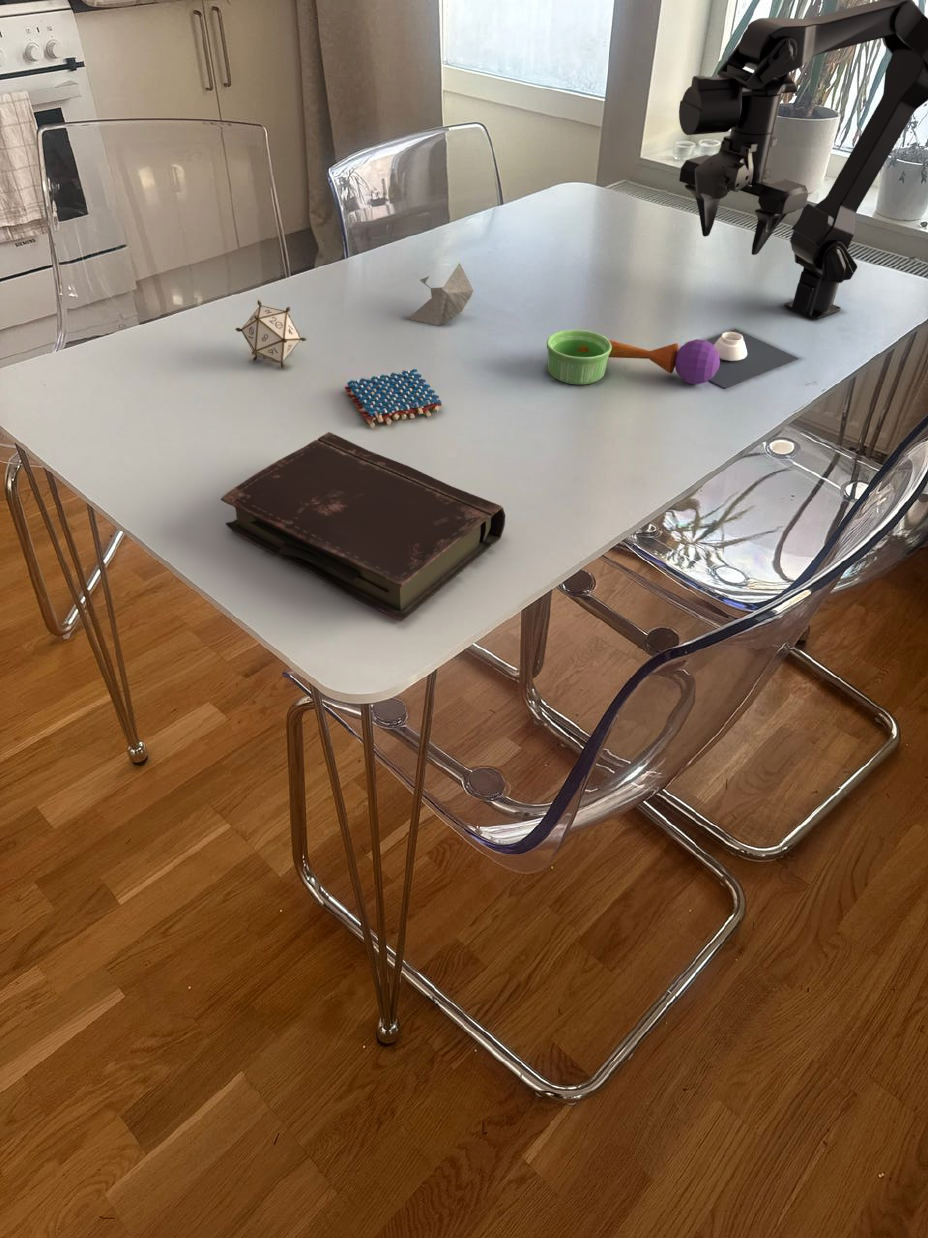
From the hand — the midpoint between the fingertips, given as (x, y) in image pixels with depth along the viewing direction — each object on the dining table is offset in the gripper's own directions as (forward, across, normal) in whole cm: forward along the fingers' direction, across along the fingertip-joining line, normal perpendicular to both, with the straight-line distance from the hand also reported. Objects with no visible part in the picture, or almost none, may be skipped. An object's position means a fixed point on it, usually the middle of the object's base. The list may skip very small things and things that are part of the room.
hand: (729, 244), depth 138 cm
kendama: (+12, +5, -21) cm, 25 cm away
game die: (+12, -29, -62) cm, 69 cm away
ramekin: (+12, 0, -29) cm, 32 cm away
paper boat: (+12, -28, -32) cm, 44 cm away
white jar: (+12, +9, -8) cm, 17 cm away
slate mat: (+12, +10, -8) cm, 17 cm away
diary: (+12, +14, -75) cm, 77 cm away
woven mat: (+12, -9, -55) cm, 57 cm away
